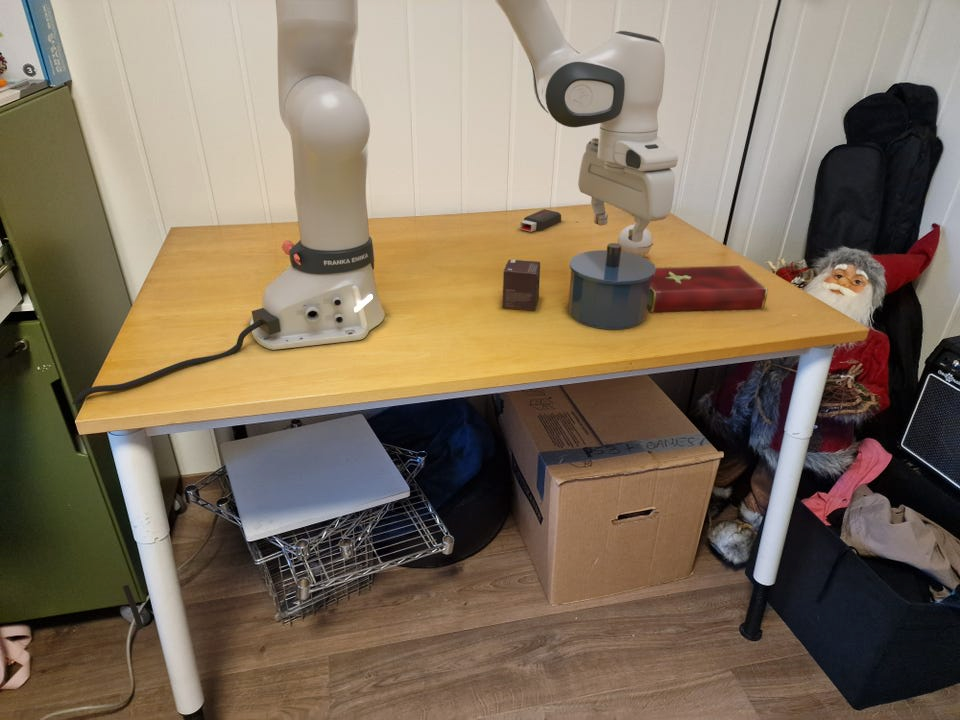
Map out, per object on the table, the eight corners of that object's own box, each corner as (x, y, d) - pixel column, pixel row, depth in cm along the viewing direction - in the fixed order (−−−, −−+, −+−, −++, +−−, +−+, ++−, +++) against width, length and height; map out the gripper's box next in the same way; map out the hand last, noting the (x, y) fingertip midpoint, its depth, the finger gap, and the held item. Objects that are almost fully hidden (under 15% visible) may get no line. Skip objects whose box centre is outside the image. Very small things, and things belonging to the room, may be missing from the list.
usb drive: (561, 221, 162) (561, 210, 160) (535, 233, 153) (535, 222, 152) (543, 217, 164) (544, 207, 163) (516, 229, 156) (517, 218, 155)
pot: (597, 336, 108) (603, 288, 104) (554, 305, 118) (557, 261, 114) (661, 320, 113) (669, 275, 109) (614, 292, 124) (619, 249, 120)
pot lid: (602, 294, 103) (605, 266, 101) (553, 263, 115) (554, 238, 112) (672, 279, 109) (677, 252, 107) (619, 251, 120) (622, 227, 118)
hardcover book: (763, 309, 117) (769, 288, 115) (651, 313, 116) (654, 291, 114) (735, 284, 128) (739, 264, 126) (631, 287, 126) (634, 266, 124)
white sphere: (628, 266, 136) (632, 232, 132) (608, 254, 142) (612, 222, 138) (667, 260, 139) (672, 226, 136) (646, 248, 145) (651, 216, 141)
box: (534, 312, 116) (537, 273, 112) (501, 308, 117) (502, 270, 113) (539, 298, 121) (541, 261, 117) (507, 295, 122) (508, 258, 118)
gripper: (572, 137, 108) (567, 217, 115) (652, 162, 93) (640, 254, 99) (603, 133, 111) (596, 213, 118) (686, 158, 95) (672, 247, 102)
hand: (617, 232), depth 108 cm, fingers open, 8 cm apart
